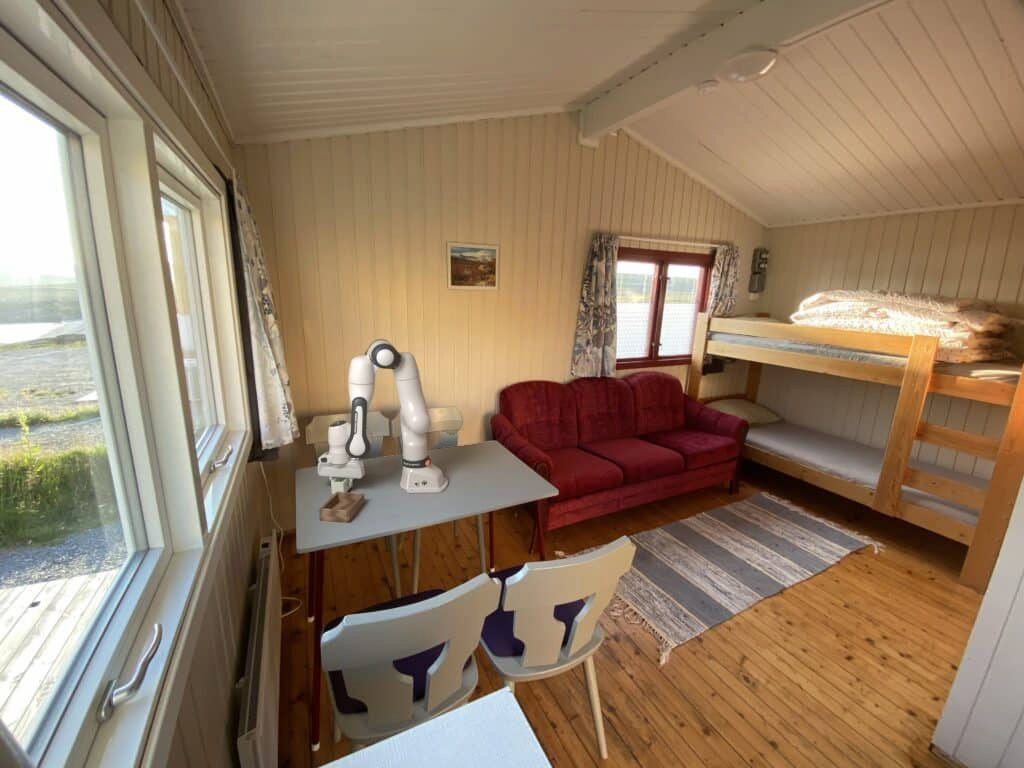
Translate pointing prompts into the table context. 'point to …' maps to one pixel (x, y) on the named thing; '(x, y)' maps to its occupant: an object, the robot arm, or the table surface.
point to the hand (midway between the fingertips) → (342, 485)
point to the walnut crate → (342, 507)
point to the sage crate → (340, 485)
